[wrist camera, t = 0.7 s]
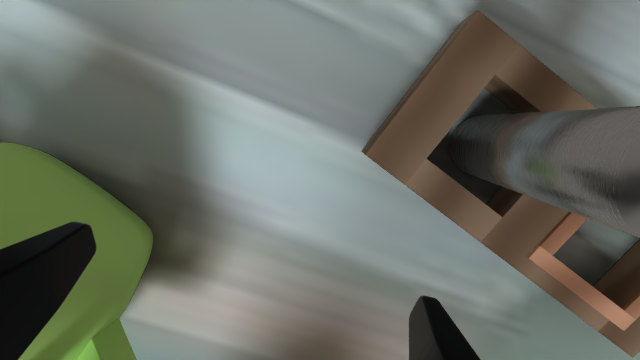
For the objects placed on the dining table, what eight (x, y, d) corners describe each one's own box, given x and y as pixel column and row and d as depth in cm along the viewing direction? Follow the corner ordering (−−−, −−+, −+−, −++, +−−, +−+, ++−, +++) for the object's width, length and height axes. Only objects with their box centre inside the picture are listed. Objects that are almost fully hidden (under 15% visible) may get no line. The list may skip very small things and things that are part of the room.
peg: (512, 171, 22) (771, 239, 9) (451, 179, 22) (618, 257, 9) (509, 111, 21) (784, 91, 8) (447, 120, 21) (620, 114, 8)
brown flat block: (710, 228, 22) (763, 242, 19) (601, 332, 23) (635, 359, 21) (460, 23, 20) (479, 8, 18) (361, 151, 22) (365, 154, 19)
